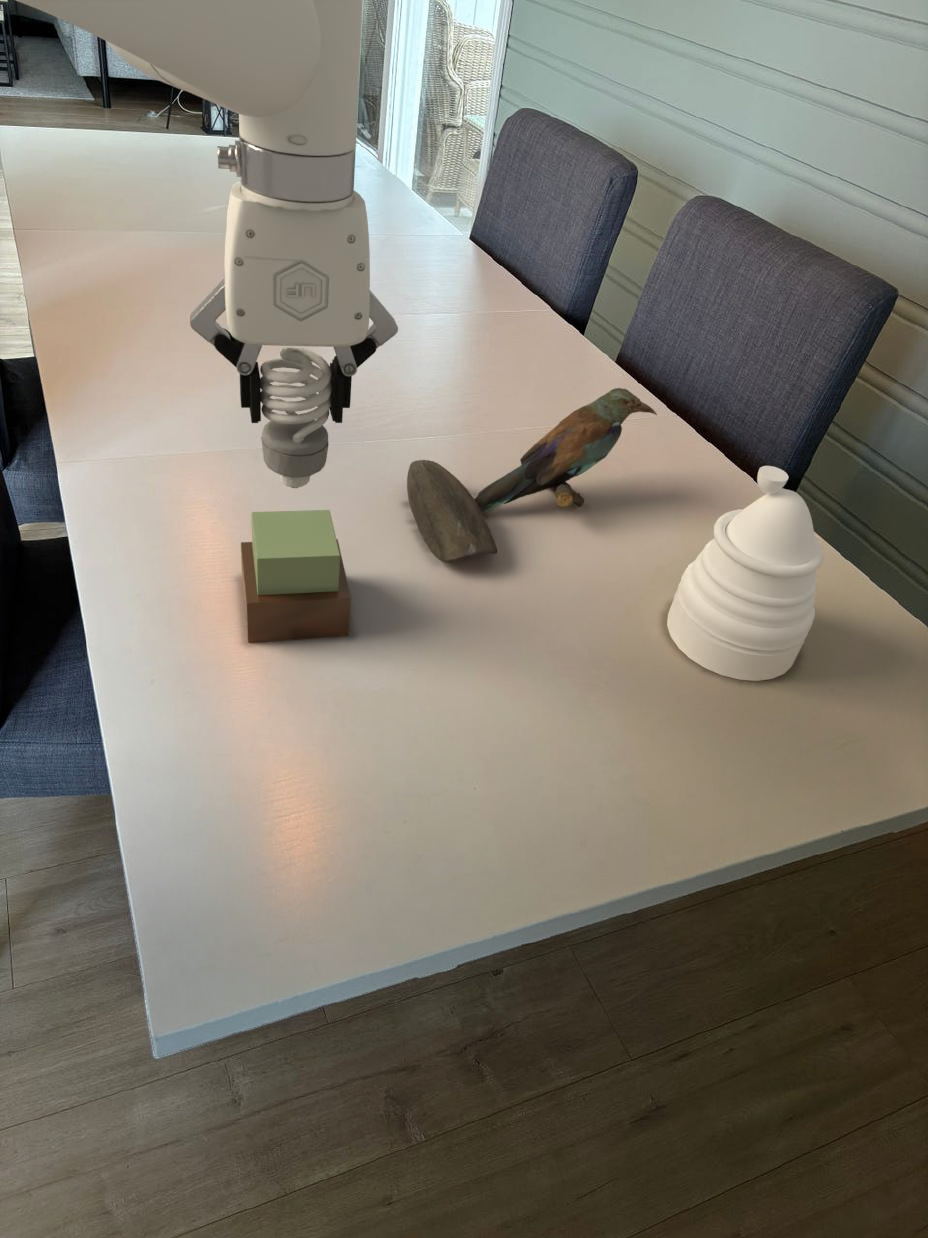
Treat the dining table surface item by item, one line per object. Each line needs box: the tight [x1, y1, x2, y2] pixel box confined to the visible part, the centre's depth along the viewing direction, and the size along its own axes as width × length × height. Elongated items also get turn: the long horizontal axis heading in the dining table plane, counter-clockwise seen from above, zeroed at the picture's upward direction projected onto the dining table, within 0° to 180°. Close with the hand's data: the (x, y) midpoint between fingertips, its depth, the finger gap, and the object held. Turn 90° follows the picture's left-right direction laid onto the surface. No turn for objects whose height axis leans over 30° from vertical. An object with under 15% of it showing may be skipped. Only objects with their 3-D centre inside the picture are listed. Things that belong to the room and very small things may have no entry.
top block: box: [250, 509, 340, 595], centre depth 81 cm, size 7×7×4 cm
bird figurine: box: [474, 387, 658, 516], centre depth 101 cm, size 13×10×20 cm
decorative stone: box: [406, 459, 499, 563], centre depth 97 cm, size 17×6×4 cm, turn 21°
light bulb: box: [259, 346, 332, 489], centre depth 73 cm, size 6×6×12 cm
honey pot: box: [666, 465, 825, 682], centre depth 85 cm, size 13×13×18 cm
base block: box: [240, 538, 352, 643], centre depth 84 cm, size 9×9×4 cm
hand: (295, 412), depth 72 cm, fingers closed on light bulb, 5 cm apart
